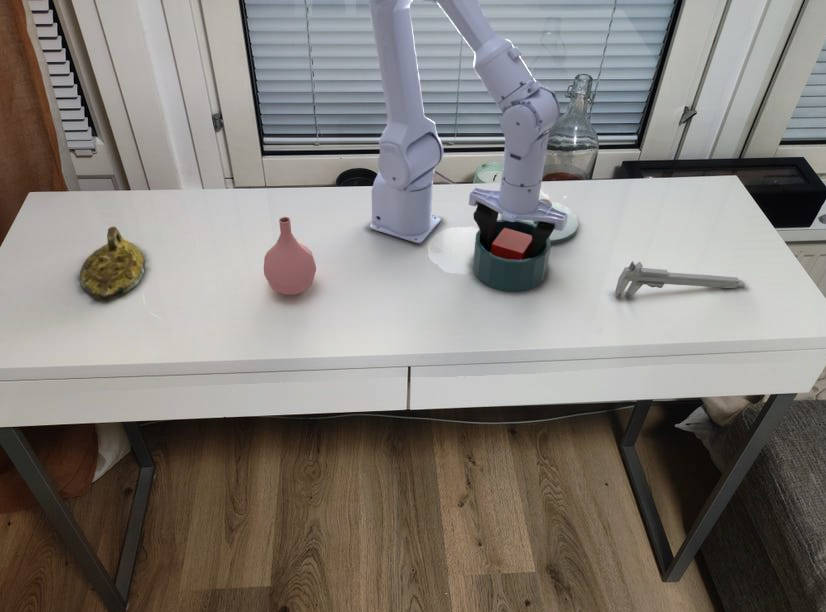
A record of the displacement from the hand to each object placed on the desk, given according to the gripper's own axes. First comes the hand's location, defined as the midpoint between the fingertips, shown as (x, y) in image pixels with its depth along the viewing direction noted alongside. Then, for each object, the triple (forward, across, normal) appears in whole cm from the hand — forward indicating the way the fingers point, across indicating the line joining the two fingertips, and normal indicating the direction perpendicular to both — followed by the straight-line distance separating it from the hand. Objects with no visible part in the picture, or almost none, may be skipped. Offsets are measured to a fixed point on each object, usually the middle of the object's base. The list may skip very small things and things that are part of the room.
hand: (510, 255), depth 116 cm
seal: (+3, -53, -30) cm, 61 cm away
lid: (+2, 0, +14) cm, 14 cm away
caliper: (+3, +25, +7) cm, 26 cm away
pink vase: (+3, -27, -20) cm, 34 cm away
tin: (+3, 0, 0) cm, 3 cm away
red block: (+2, 0, 0) cm, 2 cm away
